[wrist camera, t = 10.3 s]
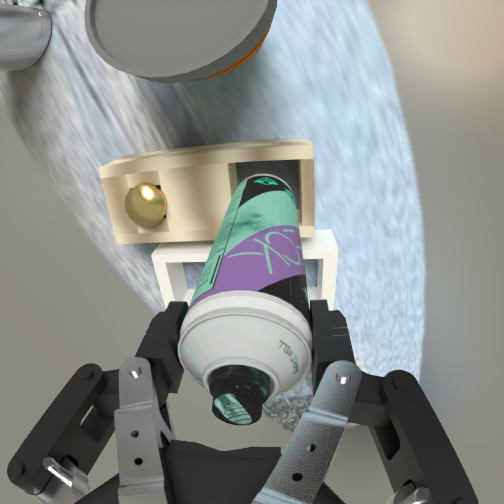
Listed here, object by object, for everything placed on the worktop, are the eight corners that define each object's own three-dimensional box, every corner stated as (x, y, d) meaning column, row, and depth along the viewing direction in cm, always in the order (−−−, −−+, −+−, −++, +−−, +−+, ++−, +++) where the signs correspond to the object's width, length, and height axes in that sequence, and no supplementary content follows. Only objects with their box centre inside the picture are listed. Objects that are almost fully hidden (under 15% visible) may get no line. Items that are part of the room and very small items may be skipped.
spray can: (275, 241, 28) (265, 455, 11) (222, 213, 27) (143, 415, 10) (307, 193, 26) (352, 400, 8) (251, 161, 25) (189, 338, 8)
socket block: (134, 226, 37) (117, 244, 32) (120, 157, 33) (98, 167, 28) (310, 217, 34) (314, 236, 30) (308, 138, 30) (313, 146, 26)
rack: (179, 294, 41) (168, 317, 37) (165, 235, 37) (151, 254, 33) (327, 292, 39) (332, 317, 35) (331, 229, 35) (338, 249, 30)
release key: (149, 208, 35) (129, 228, 30) (142, 173, 33) (120, 188, 28) (183, 206, 34) (167, 225, 30) (177, 169, 32) (159, 183, 28)
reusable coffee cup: (150, 4, 23) (73, -35, 10) (263, -28, 21) (250, -101, 8) (174, 100, 29) (100, 110, 16) (290, 72, 27) (300, 51, 14)
